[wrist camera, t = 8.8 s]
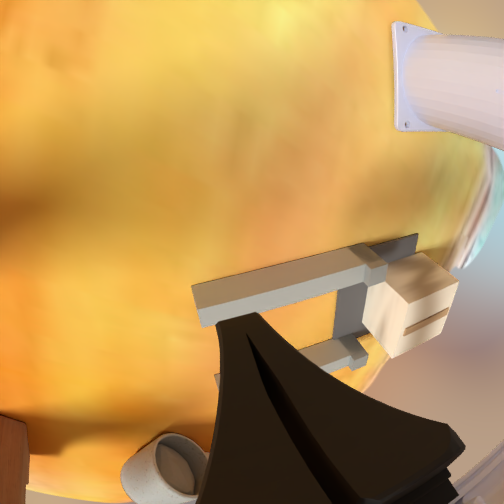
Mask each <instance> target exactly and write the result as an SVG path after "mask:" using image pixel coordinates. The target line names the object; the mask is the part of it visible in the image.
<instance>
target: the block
mask: <svg viewBox="0 0 504 504" xmlns="http://www.w3.org/2000/svg"><path fill="white" fill-rule="evenodd" d="M458 284H459V280H457V279H456V278H455V277H454V276H452V275H451V274H450V273H449V272H447V271H446V270H445V269H444V268H442V267H441V266H440V265H438V264H437V263H436V262H434V261H433V260H432V259H431V258H429V257H428V256H427V255H425V254H424V253H423V252H420V253H417V254H414V255H411V256H408V257H405V258H402V259H399V260H396V261H393V262H389V263H388V268H387V274H386V279H385V282H382V283H379V284H376V285H373V286H370V287H368V290H367V296H366V302H365V308H364V313H363V319H362V323H363V324H364V325H365V327H366V328H367V329H368V330H369V331H370V333H371V334H372V335H373V336H374V337H375V339H376V340H377V341H378V342H379V343H380V345H381V346H382V347H383V348H384V349H385V351H386V352H387V353H388V354H389V355H390V357H391V358H394V357H396V356H398V355H400V354H402V353H404V352H406V351H408V350H410V349H412V348H414V347H416V346H418V345H420V344H422V343H424V342H426V341H427V340H429V339H431V338H433V337H435V336H437V335H439V334H440V333H441V331H442V328H443V325H444V323H445V320H446V318H447V315H448V313H449V310H450V307H451V304H452V301H453V299H454V296H455V293H456V290H457V287H458Z"/></svg>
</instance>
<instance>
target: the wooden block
mask: <svg viewBox="0 0 504 504" xmlns="http://www.w3.org/2000/svg"><path fill="white" fill-rule="evenodd" d="M29 462H30V454H29V446H28V438H27V427H26V424H25V423H23V422H20V421H17V420H14V419H11V418H8V417H5V416H2V415H0V504H25V492H26V484H28V483H29Z"/></svg>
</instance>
